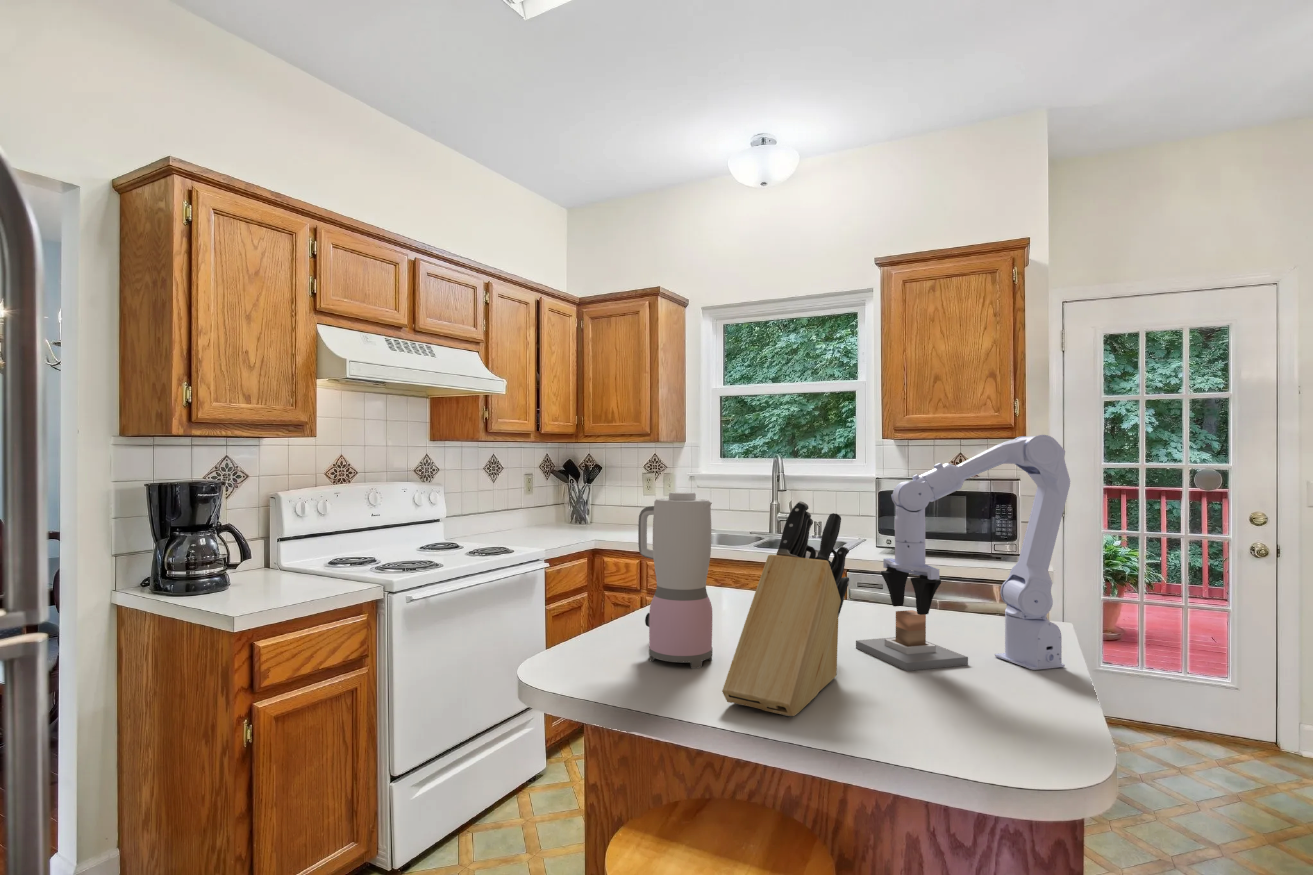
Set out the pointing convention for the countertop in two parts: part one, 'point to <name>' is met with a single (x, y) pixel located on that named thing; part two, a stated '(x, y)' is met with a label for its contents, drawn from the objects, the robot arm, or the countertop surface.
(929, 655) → the collar board
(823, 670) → the knife block
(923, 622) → the copper rectangular block
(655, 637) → the blender
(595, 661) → the countertop surface
